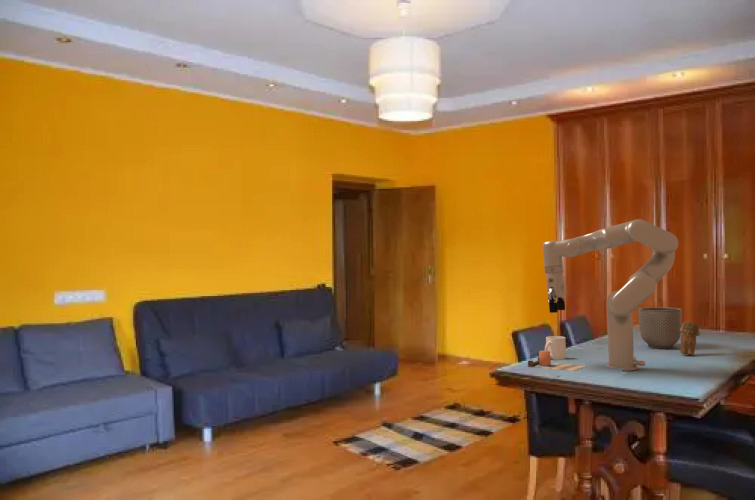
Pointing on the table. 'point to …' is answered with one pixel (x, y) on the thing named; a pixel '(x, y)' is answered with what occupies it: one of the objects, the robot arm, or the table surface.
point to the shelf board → (560, 367)
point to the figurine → (688, 337)
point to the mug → (556, 347)
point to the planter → (660, 326)
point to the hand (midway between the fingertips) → (557, 311)
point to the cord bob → (544, 358)
